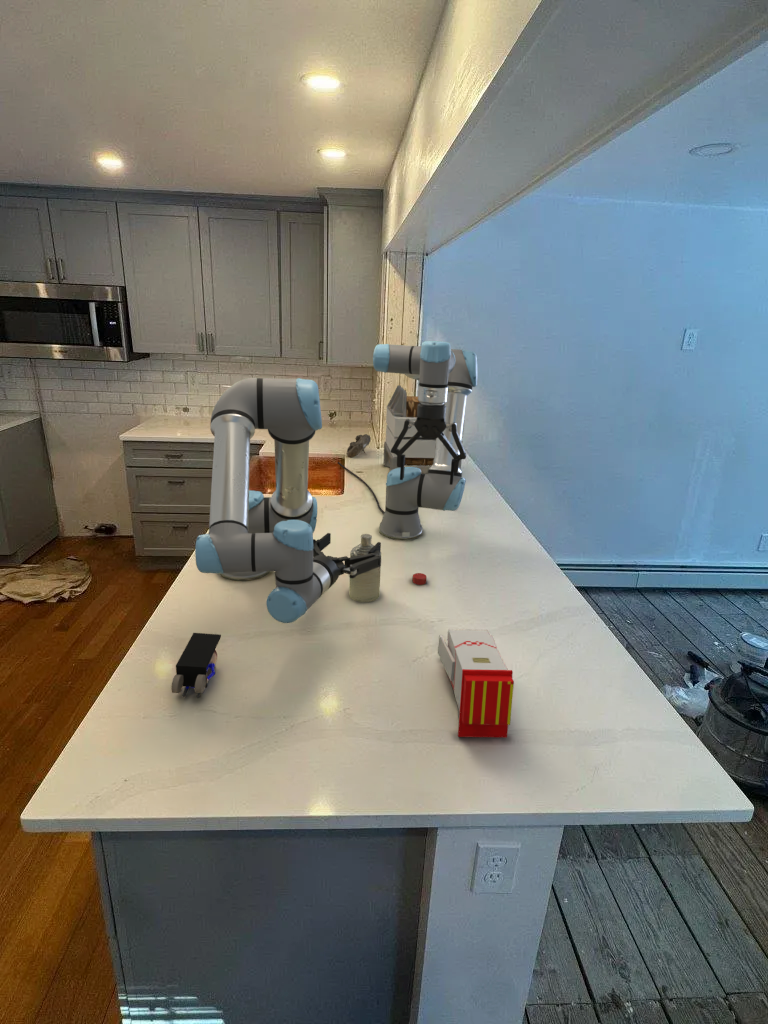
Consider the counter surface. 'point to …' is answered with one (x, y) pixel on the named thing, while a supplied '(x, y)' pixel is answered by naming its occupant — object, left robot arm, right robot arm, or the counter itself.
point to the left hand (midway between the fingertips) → (353, 542)
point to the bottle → (365, 575)
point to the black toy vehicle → (196, 663)
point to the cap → (419, 578)
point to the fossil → (358, 445)
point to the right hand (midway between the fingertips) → (426, 481)
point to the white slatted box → (395, 418)
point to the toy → (478, 682)
